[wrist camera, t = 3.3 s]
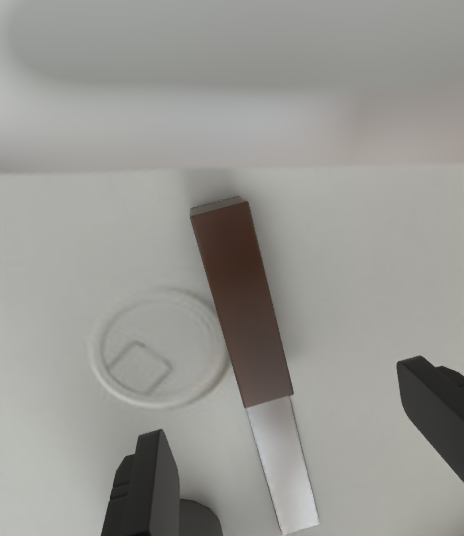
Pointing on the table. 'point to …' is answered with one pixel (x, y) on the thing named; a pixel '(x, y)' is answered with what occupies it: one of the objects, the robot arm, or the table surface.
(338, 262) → the table surface
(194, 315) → the table surface
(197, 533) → the candle holder
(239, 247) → the kitchen knife
